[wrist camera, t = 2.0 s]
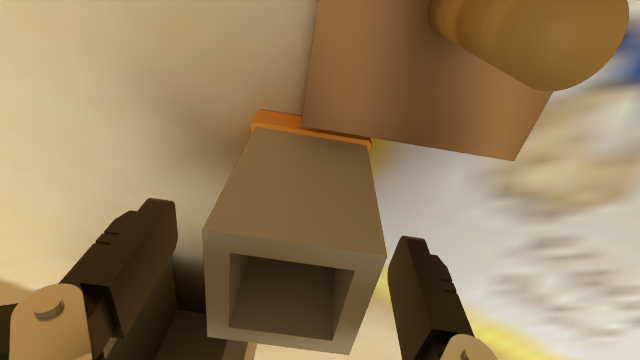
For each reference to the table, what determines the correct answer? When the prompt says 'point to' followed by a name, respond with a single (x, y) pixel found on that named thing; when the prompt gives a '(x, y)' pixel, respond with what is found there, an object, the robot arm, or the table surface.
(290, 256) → the sleeve
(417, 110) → the pin block
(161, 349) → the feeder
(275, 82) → the table surface
